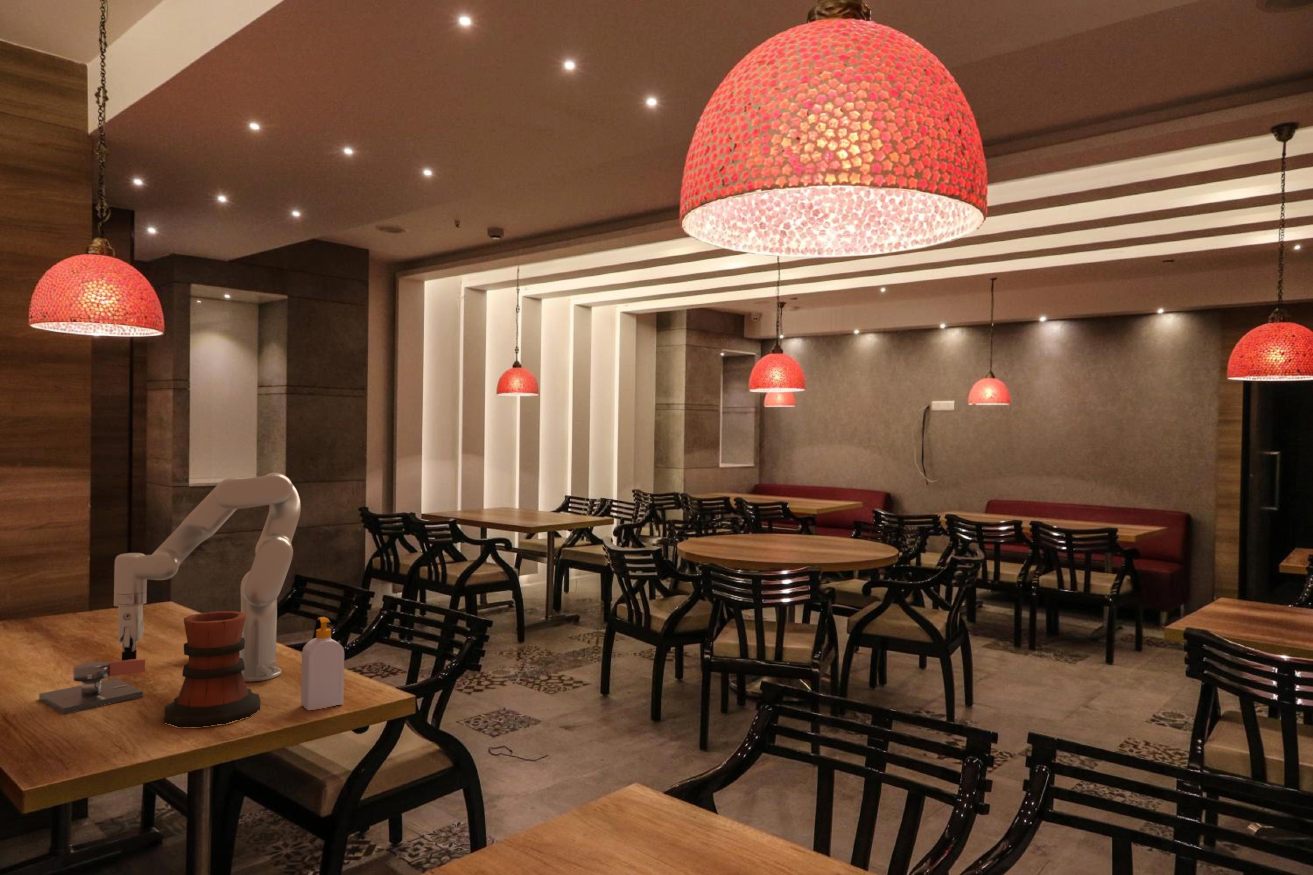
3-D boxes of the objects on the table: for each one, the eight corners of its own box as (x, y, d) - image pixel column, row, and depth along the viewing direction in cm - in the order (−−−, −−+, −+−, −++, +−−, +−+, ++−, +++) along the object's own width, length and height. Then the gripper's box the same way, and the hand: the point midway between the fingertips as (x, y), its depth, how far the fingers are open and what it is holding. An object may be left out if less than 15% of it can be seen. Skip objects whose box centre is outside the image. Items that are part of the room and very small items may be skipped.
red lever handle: (70, 684, 209) (71, 670, 209) (75, 674, 217) (76, 661, 217) (144, 676, 217) (144, 663, 217) (145, 666, 225) (146, 654, 225)
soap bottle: (334, 698, 218) (336, 613, 219) (343, 705, 213) (345, 618, 213) (299, 704, 213) (301, 617, 213) (307, 711, 207) (309, 622, 207)
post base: (142, 696, 217) (143, 677, 217) (63, 714, 202) (63, 693, 202) (116, 683, 228) (116, 664, 228) (39, 699, 213) (39, 679, 213)
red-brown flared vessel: (149, 731, 192) (151, 628, 192) (181, 699, 216) (183, 607, 216) (251, 724, 198) (253, 624, 198) (270, 693, 222) (272, 604, 222)
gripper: (142, 602, 216) (141, 671, 216) (149, 592, 230) (148, 657, 230) (109, 604, 213) (107, 674, 213) (118, 594, 227) (117, 659, 227)
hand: (129, 665), depth 221 cm, fingers closed
